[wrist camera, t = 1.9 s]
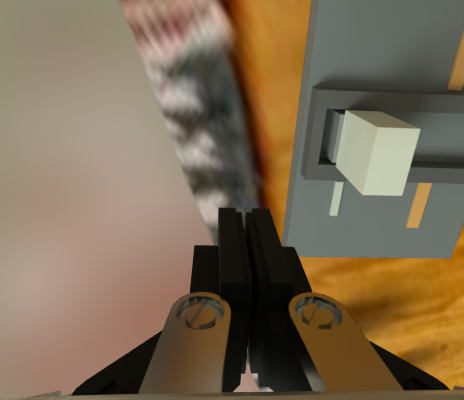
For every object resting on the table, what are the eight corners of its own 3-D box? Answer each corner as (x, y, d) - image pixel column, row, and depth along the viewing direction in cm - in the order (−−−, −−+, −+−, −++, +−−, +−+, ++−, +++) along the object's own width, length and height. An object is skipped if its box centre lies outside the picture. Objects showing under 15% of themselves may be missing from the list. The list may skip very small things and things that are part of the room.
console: (316, -42, 23) (333, -55, 19) (532, -28, 23) (582, -38, 20) (281, 244, 32) (288, 266, 29) (437, 246, 33) (461, 268, 30)
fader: (333, 105, 24) (372, 127, 18) (374, 107, 25) (426, 128, 19) (324, 159, 26) (357, 194, 20) (363, 160, 26) (406, 195, 20)
